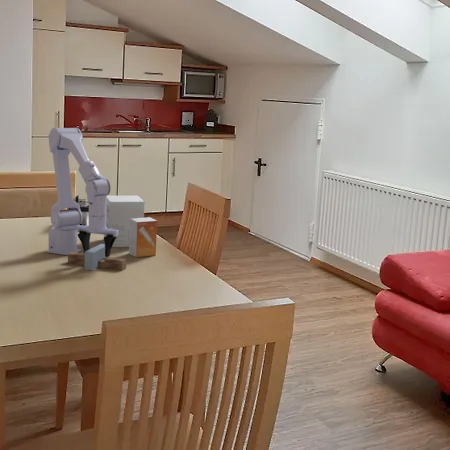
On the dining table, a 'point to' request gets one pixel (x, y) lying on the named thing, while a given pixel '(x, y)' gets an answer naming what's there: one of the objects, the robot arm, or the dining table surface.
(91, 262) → the plain blue-gray board
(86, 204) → the black-topped pedestal
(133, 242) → the small box
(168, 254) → the dining table surface
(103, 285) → the dining table surface
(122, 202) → the supplement box
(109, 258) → the notched rail
